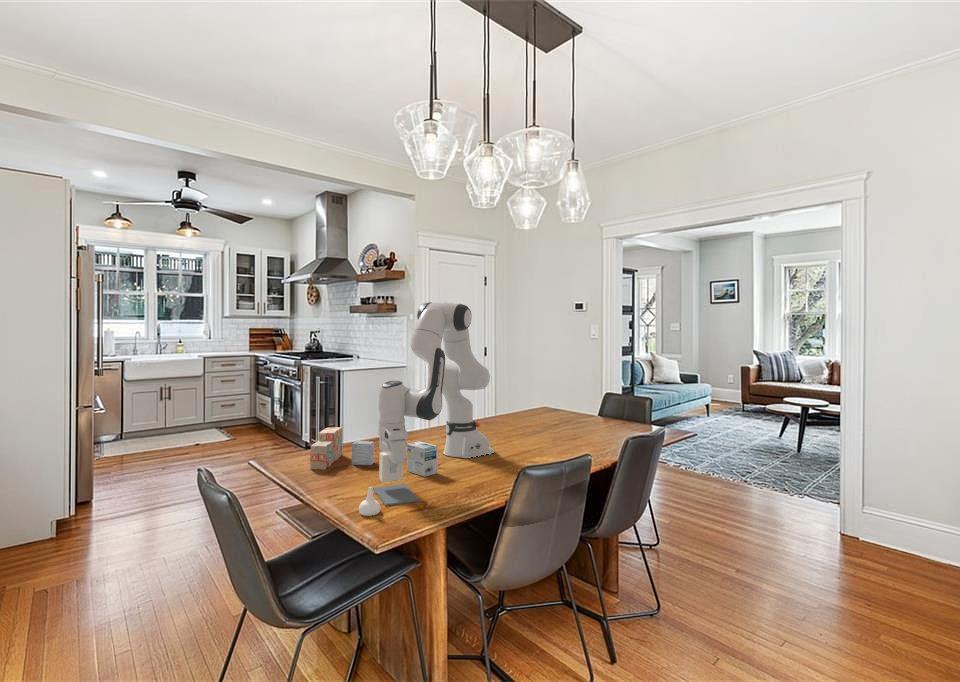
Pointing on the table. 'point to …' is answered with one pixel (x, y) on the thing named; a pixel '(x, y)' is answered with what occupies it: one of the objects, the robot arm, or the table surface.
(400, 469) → the cream block
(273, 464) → the table surface
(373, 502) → the garlic bulb
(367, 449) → the medicine box
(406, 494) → the rubber mat
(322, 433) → the stack of blocks
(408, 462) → the light bulb box
